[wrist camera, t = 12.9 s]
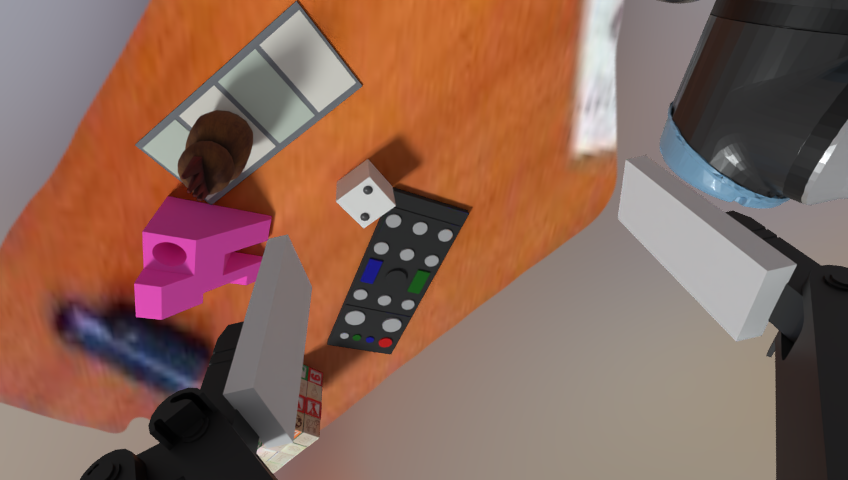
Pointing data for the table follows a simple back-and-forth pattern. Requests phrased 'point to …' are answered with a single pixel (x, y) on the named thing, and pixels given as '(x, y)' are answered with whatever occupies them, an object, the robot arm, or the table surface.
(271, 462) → the stack of blocks
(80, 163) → the table surface
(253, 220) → the bracket
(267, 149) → the game mat
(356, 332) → the remote control
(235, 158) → the wooden figurine
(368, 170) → the die
